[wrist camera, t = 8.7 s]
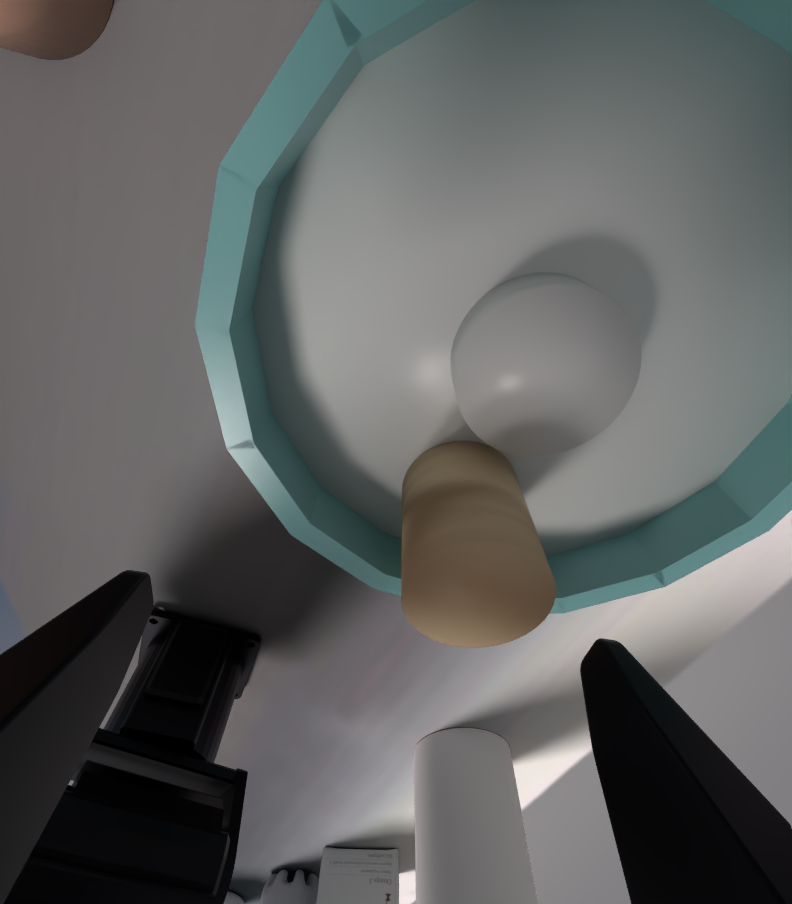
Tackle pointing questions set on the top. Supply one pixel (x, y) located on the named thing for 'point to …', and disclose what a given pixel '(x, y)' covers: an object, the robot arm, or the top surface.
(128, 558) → the top surface
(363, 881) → the supplement box
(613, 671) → the robot arm
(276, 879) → the bottle
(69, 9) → the pinkish brown short cylinder
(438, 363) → the groove tray
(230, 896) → the pill bottle
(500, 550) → the wood cylinder
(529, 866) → the cylindrical container
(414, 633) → the top surface
